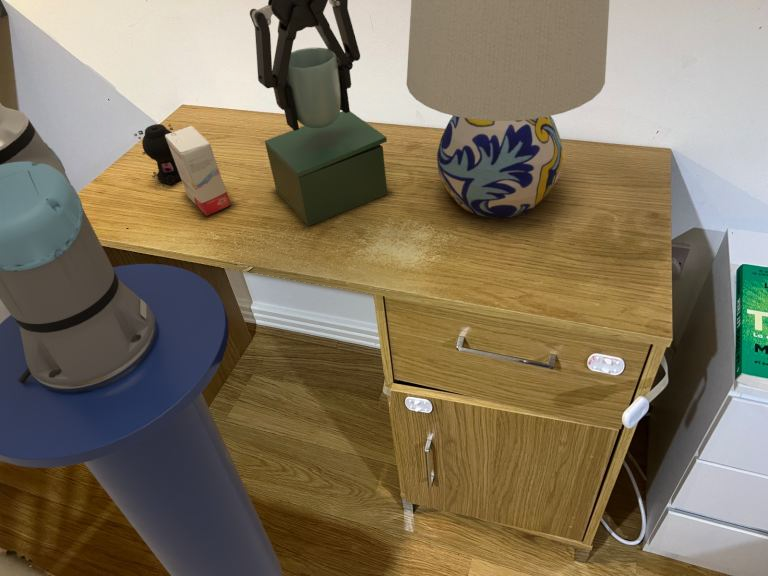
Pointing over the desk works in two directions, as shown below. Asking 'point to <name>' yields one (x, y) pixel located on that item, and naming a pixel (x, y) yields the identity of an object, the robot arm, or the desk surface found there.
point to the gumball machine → (160, 152)
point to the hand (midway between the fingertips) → (318, 117)
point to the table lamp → (504, 90)
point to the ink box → (198, 170)
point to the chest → (331, 185)
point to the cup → (315, 86)
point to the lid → (324, 143)
